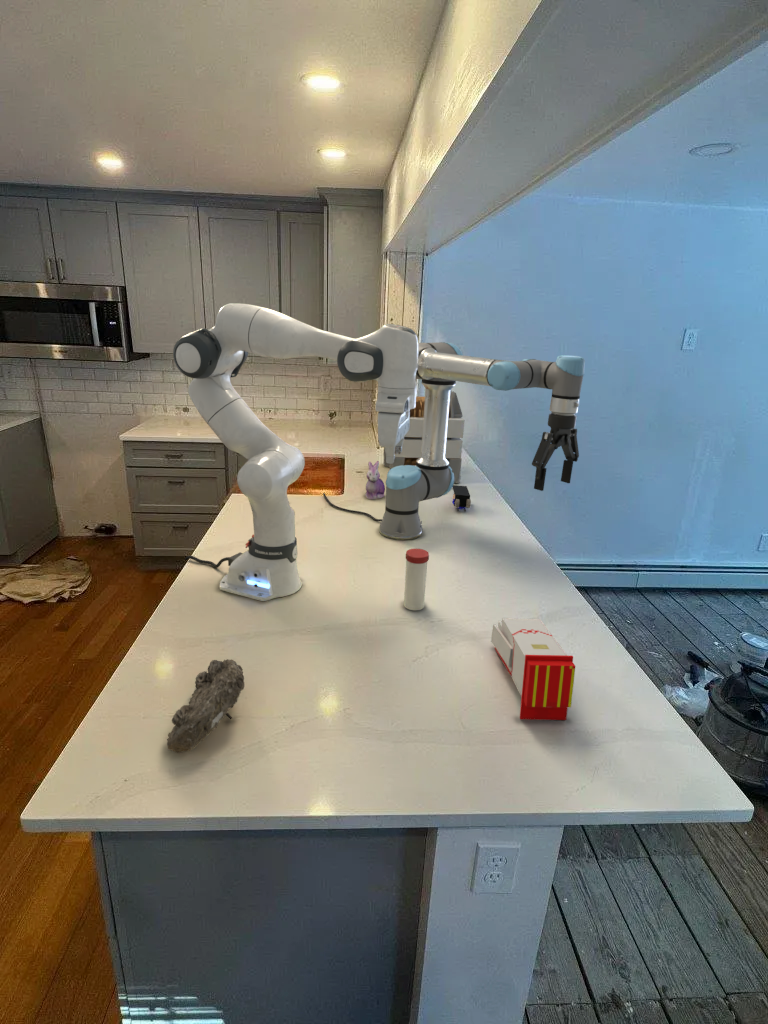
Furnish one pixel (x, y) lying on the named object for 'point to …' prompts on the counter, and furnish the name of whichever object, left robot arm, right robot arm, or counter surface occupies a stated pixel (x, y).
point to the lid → (417, 556)
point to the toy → (535, 667)
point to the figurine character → (461, 497)
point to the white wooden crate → (414, 435)
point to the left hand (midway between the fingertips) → (394, 458)
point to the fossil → (206, 705)
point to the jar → (415, 585)
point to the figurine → (374, 483)
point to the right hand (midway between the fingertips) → (552, 485)
